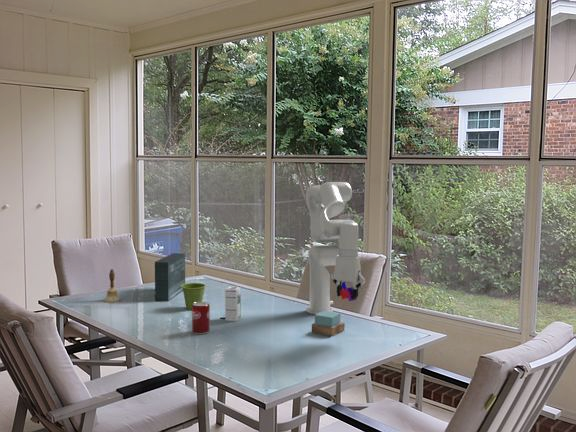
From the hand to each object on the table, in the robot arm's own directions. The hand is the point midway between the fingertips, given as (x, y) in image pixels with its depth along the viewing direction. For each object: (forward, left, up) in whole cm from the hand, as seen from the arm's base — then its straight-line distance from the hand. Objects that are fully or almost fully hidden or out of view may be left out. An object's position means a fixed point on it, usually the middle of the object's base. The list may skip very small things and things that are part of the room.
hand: (347, 296), depth 238 cm
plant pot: (+3, -82, -17) cm, 84 cm away
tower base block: (-2, -10, -17) cm, 20 cm away
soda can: (+30, -52, -17) cm, 63 cm away
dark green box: (-11, -112, -17) cm, 114 cm away
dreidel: (0, 0, -1) cm, 1 cm away
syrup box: (+7, -54, -17) cm, 57 cm away
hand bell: (+16, -126, -17) cm, 128 cm away
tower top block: (-2, -10, -13) cm, 17 cm away
